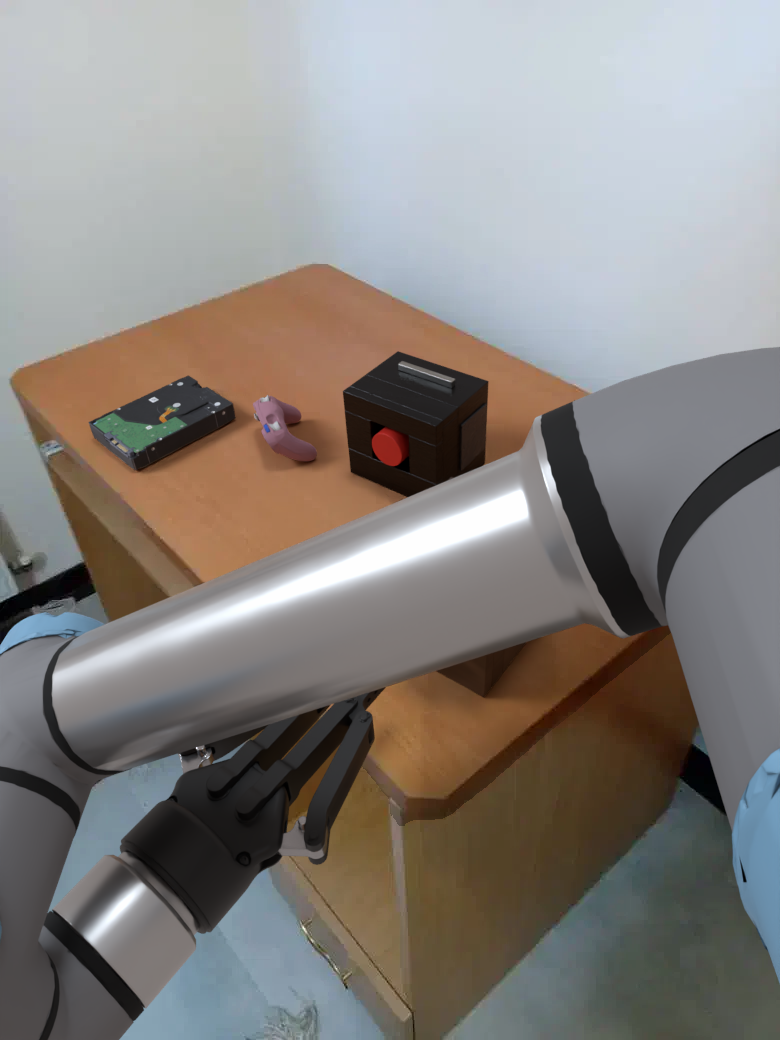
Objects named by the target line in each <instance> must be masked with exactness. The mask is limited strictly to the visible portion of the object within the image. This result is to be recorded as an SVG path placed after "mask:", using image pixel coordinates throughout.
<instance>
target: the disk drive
mask: <svg viewBox="0 0 780 1040" xmlns="http://www.w3.org/2000/svg"><path fill="white" fill-rule="evenodd" d="M234 407H235V406H234V403H233V402H232V401H231V400H229V399H227V398H226V397H223V396H222V395H221V394H219V393H218V392H216V391H215V390H213V389H211V388H209V387H208V386H206V387H205V386H204V387H203V386H202V385H201V384H200V383H199V381H198V380H197V379H195V378H194V377H192V376H191V375H186V376H184V377H181V378H177V380H174V381H172V382H171V383H168V384H166V385H164V386H162V387H160V388H158V389H156V390H153V391H152V392H150V393H147V394H145V395H143V396H141V397H139V398H136V399H135V400H132V401H130V402H128V403H126V404H123V405H121V406H120V407H117V408H116V409H113V410H110V411H108V412H106V413H104V414H102V415H101V416H99V417H96V418H94V419H92V420H90V421H88V425H89V428H90V431H91V434H92V437H93V439H95V440H96V441H97V442H99V443H100V445H101V446H103V447H104V448H106V449H107V450H108V451H109V452H111V453H112V455H115V456H116V457H117V458H118V459H119V460H121V461H122V462H123V463H124V464H126V465H127V466H128V467H130V469H133V470H134V471H138V470H139V469H143V468H145V467H147V466H149V465H151V464H153V463H154V462H156V461H159V460H161V459H162V458H164V457H166V456H169V455H170V454H173V453H174V452H176V451H178V450H180V449H181V448H183V447H185V446H187V445H189V444H191V443H193V442H194V441H197V440H200V438H202V437H205V436H206V435H208V434H210V433H212V432H214V431H216V430H218V429H219V428H222V427H223V426H225V425H227V424H229V423H231V422H232V421H233V420H235V419H236V412H235V408H234Z"/></svg>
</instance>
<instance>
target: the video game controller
mask: <svg viewBox="0 0 780 1040" xmlns="http://www.w3.org/2000/svg"><path fill="white" fill-rule="evenodd" d="M252 407H253V409H254V411H255V412H254V413H253V416H254V420H255V421H256V422H258V423H260V424H261V426H262V429H261V432H260V433H261V434H262V436H263V439H264V440H265V441H266V443H267V444H268V446H269V447H270V448H271V450H272V451H273V452H274V453H276V454H277V455H282V456H284V457H286V458H289V459H292V460H294V461H298V462H310V461H315V459H316V457H317V456H318V450H317V448H316V447H315V446H314V445H312V444H311V443H310V442H307V441H305V440H303V439H300V438H299V437H296V436H294V435H293V434H292V433H290V432H289V429H288V426H287V425H288V424H289V425H290V424H297V423H300V421H301V420H302V413H301V411H300V410H299V409H298V408H297V407H296V406H294V405H292V404H289V403H286V402H284V401H281V400H280V399H278V398H277V397H274V396H273V395H269V394H267V395H266V396H264V397H260V398H259V399H257V400H256V401H254V402H252Z"/></svg>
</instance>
